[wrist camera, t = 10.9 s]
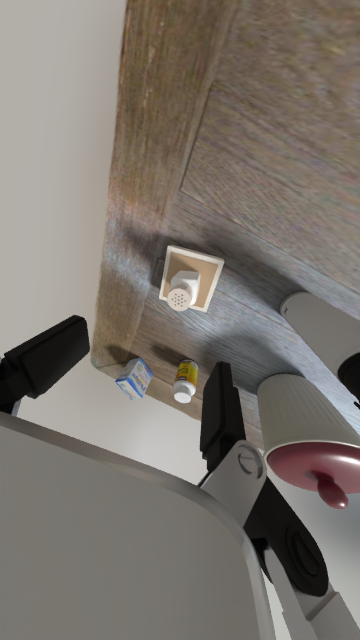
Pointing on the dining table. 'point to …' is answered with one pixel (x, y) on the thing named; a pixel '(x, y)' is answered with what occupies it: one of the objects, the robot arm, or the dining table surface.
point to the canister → (308, 439)
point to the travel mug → (327, 335)
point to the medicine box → (135, 378)
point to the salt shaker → (183, 290)
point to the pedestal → (193, 262)
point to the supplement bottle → (185, 381)
